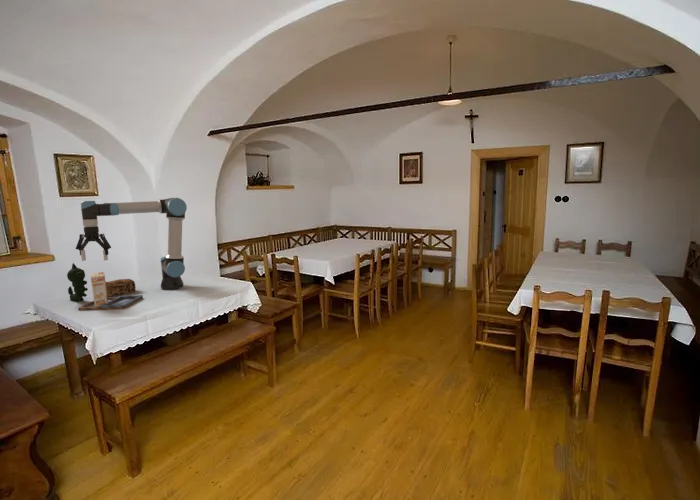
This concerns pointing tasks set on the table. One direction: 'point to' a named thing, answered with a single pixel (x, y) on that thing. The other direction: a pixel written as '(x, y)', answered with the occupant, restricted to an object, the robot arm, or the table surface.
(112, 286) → the bread
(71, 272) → the toy figurine
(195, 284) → the table surface
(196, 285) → the table surface
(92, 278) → the coffeecake box
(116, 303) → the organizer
